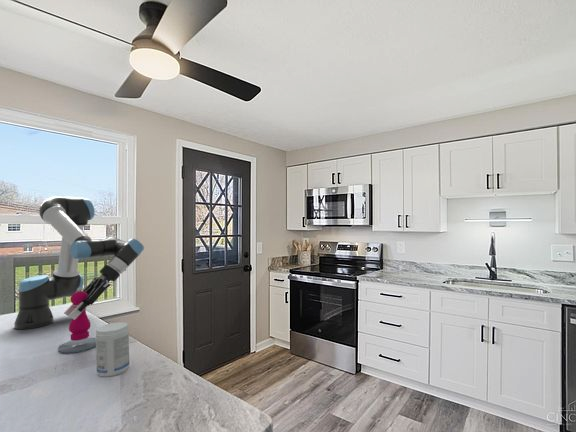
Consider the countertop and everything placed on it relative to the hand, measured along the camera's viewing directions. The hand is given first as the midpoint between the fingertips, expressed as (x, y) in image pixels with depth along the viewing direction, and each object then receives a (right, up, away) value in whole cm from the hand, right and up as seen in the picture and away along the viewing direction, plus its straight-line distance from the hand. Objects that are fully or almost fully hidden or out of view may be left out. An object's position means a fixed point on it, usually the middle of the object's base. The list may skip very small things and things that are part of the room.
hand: (69, 316), depth 125 cm
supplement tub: (+28, -12, -20) cm, 36 cm away
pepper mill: (+3, -10, +2) cm, 10 cm away
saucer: (+3, -13, +2) cm, 13 cm away
